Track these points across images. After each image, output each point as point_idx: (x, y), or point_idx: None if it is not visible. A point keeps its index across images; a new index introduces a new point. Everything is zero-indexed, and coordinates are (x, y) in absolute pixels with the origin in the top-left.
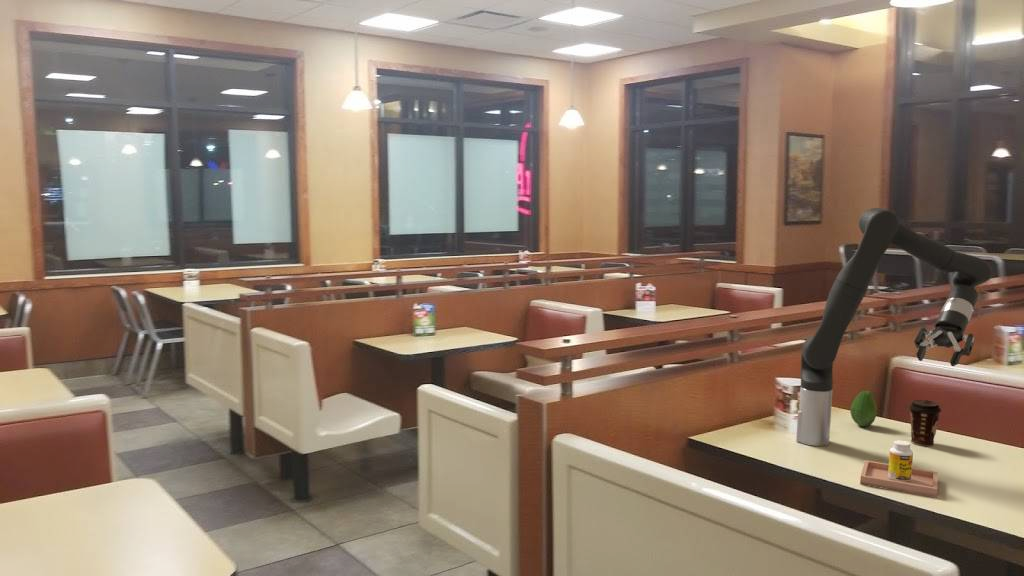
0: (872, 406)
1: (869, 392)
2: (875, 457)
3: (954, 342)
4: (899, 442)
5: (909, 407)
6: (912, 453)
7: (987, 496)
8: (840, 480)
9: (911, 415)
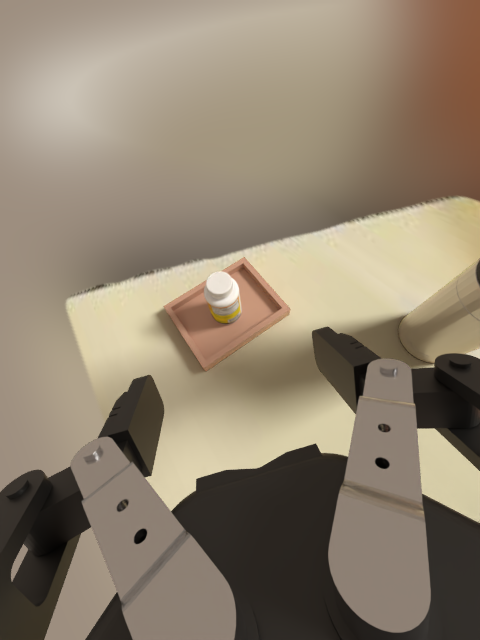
0: None
1: None
2: None
3: (112, 485)
4: (221, 278)
5: None
6: (204, 296)
7: (130, 380)
8: (265, 253)
9: None
